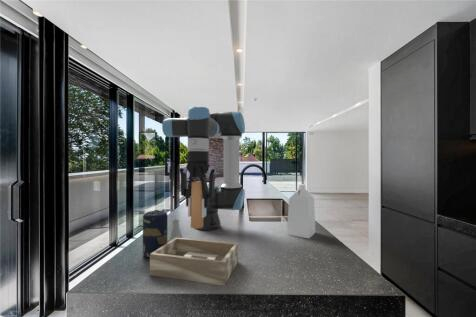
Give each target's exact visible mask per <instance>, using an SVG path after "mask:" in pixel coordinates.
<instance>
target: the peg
mask: <svg viewBox="0 0 476 317" xmlns="http://www.w3.org/2000/svg"><path fill="white" fill-rule="evenodd" d="M203 198H204V196H203V191H202V185H201V180H198V181H197V180H195V181H194V182H192V184H191V216H190V228H191V229H196V228H202V227H203V218H201V213H202V199H203Z"/></svg>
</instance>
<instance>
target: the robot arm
mask: <svg viewBox="0 0 476 317" xmlns="http://www.w3.org/2000/svg"><path fill="white" fill-rule="evenodd" d="M161 127H162V128H161V129H162V133H163V135H164V136H165V137H168V138H169V137H170V138H183V137H185V138H186V137H187V151H188V150H189V151H188V152H187V154H186V155H187V164H186V166H185V167H181V168H179V170H178V171H179V173H180V196H183V197H185V207H187V209H188V210H187V217H190V218H191V184H192V182H194V181H196V180H197V177H198V178H199V181H201V185H202V191H203V196H204V198H203V199H202V213H201V218H203V227H202V228H195V229H196V230H198V231H213V230H214V231H215V230H218V229H220V228H221V227H222V222H221V219H220V216H219V210H230V211H239V210H241V209H242V208H243V205H244V201H245V195H246V193H245V192H246V190H245V189H244V188H243V186H242V184H241V183H240V139H241V138H242V137H243V134H244V133H246V123H245V117H244V115H243V114H242V112H240V111H216V112H215V111H214V112H210V110H209V108H208V107H205V106H190V108H188V114H187V117H177V118H176V117H175V118H173V117H170V118H165V119H163V121H162V125H161ZM218 134H220V138H221V139H222V140H223V183H222V184H221V185H220V188H219V186H218V185H215V180H216V179H215V178H216V174H217V170H218V169H216V168H213V167H211V166H210V164H209V160H210V157H209V155H210V153H209V149H210V138H211V139H212V138H215V137H216V136H217V135H218ZM188 173H189V177H188V176H187V174H188ZM207 173H208V174H209V176H208V180H209V181H208V182H207Z"/></svg>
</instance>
